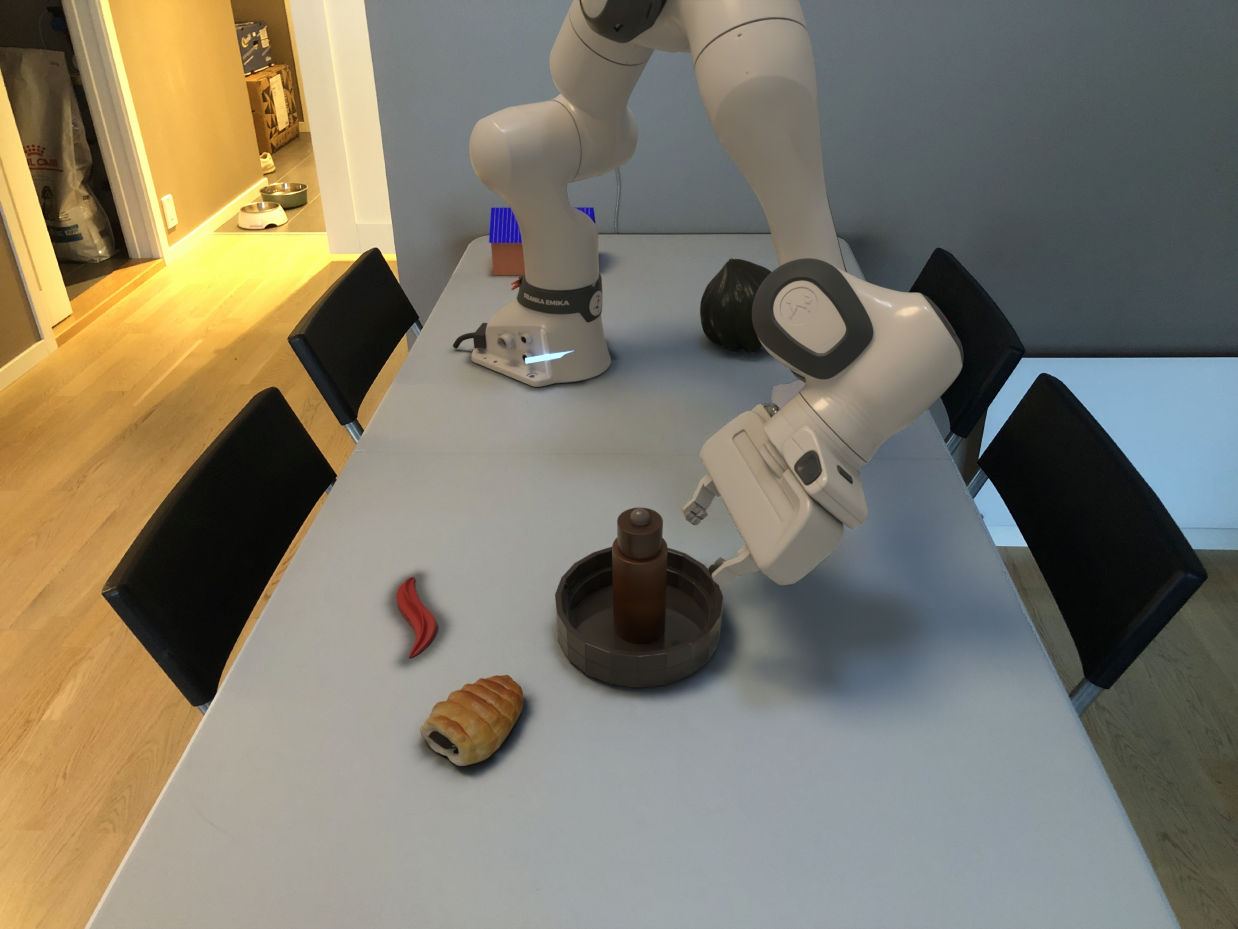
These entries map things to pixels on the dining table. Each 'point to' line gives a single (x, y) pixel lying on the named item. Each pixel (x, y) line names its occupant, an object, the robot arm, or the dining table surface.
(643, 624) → the pepper mill
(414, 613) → the cayenne pepper
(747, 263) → the squash
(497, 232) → the house
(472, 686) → the pastry
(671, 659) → the pan
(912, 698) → the dining table surface
